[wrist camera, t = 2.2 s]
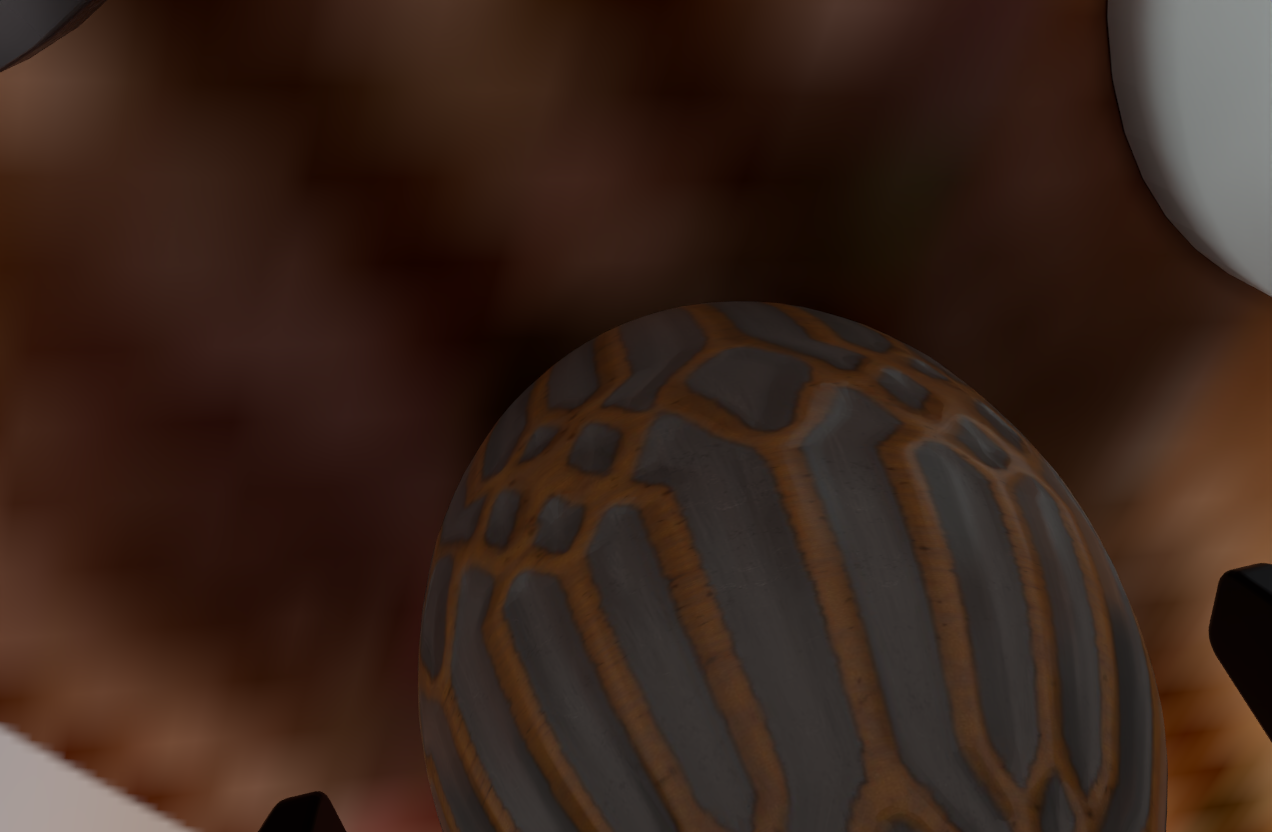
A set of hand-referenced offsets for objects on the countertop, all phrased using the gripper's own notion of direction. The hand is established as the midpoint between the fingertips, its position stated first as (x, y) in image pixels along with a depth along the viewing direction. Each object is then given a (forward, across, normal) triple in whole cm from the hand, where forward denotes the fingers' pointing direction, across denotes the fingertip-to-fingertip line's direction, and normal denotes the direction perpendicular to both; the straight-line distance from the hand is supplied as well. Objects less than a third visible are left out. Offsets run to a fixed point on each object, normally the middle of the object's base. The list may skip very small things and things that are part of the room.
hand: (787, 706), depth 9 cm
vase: (+5, 0, 0) cm, 5 cm away
